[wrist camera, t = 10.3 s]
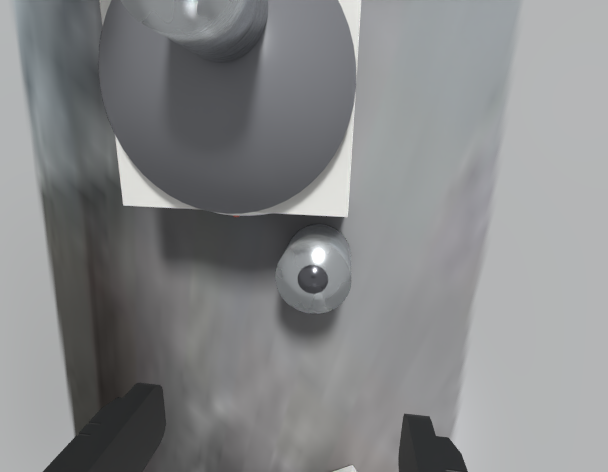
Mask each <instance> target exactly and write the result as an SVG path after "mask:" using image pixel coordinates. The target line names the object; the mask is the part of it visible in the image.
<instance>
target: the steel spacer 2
mask: <svg viewBox="0 0 608 472" xmlns="http://www.w3.org/2000/svg"><path fill="white" fill-rule="evenodd" d="M275 281H276V286H277V289H278V291H279V293H280V295H281V296H282V298H283V299H284V300H285V301H286V302H287V303H288V304H289V305H290V306H292V307H293V308H295V309H297V310H299V311H301V312H305V313H310V314H320V313H325V312H328V311H331V310H333V309H335V308H336V307H338V306H339V305H340V304H341V303H342V302H343V301H344V300H345V298H346V297H347V295H348V293H349V291H350V287H351V251H350V246H349V244H348V242H347V240H346V238H345V237H344V236H343V235H342V234H341V233H340V232H339V231H338V230H336V229H335V228H333V227H330V226H327V225H322V224H315V225H310V226H307V227H304V228H303V229H301V230H300V231H298V232H297V233H296V234H295V235H294V237H293V238H292V240H291V241H290V243H289V245H288V247H287V248H286V250H285V252H284V254H283V255H282V257H281V259H280V261H279V262H278V265H277V268H276V273H275Z"/></svg>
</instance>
